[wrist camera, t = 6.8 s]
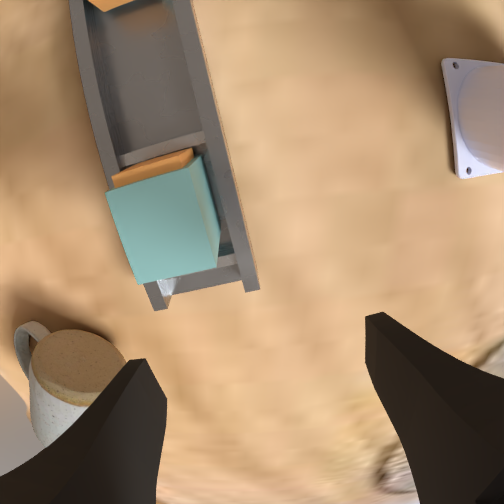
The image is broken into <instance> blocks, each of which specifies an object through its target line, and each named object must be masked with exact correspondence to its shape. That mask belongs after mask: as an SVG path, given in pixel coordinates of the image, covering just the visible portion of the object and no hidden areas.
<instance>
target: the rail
mask: <svg viewBox="0 0 504 504" xmlns="http://www.w3.org/2000/svg"><path fill="white" fill-rule="evenodd" d="M69 7H70V15H71V22H72V29H73V36H74V42H75V48H76V54H77V60H78V65H79V71H80V76H81V81H82V86H83V90H84V95H85V99H86V104H87V108H88V112H89V117H90V121H91V125H92V129H93V133H94V137H95V140H96V144H97V148H98V152H99V155H100V159H101V162H102V166H103V169H104V173H105V176H106V179H107V183H108V186H109V189H112V188H113V187H114V183H113V180H112V177H111V176H113V175H115V174H117V173H119V172H121V171H123V170H125V169H127V168H129V167H131V166H133V165H135V164H138V163H140V162H144V161H147V160H150V159H153V158H157V157H160V156H163V155H167V154H170V153H174V152H177V151H181V150H184V149H188V148H192V150H193V154H194V156H197V155H200V154H202V156H203V160H204V164H205V168H206V172H207V176H208V179H209V183H210V187H211V191H212V195H213V198H214V202H215V206H216V210H217V214H218V217H219V221H220V225H221V232H220V241H219V250H218V259H217V267H216V268H212V269H207V270H203V271H198V272H194V273H189V274H185V275H180V276H176V277H171V278H167V279H162V280H158V281H153V282H149V283H144V284H143V285H144V287H145V290H146V292H147V294H148V297H149V299H150V302H151V304H152V306H153V309H154V311H158V310H163V309H168V306H169V302H170V299H171V296H172V295H174V294H179V293H184V292H189V291H193V290H198V289H203V288H207V287H212V286H217V285H221V284H226V283H231V282H235V281H240V280H242V282H243V285H244V289H245V292H250V291H255V290H259V289H260V285H259V278H258V272H257V266H256V262H255V258H254V254H253V249H252V245H251V241H250V237H249V233H248V229H247V225H246V220H245V216H244V212H243V208H242V204H241V200H240V196H239V192H238V187H237V183H236V179H235V175H234V171H233V167H232V163H231V159H230V154H229V150H228V146H227V142H226V138H225V134H224V130H223V126H222V121H221V117H220V113H219V109H218V105H217V101H216V97H215V93H214V88H213V84H212V80H211V76H210V72H209V68H208V64H207V60H206V56H205V51H204V47H203V43H202V39H201V35H200V31H199V27H198V23H197V19H196V14H195V10H194V6H193V2H192V0H134V1H131V2H128V3H125V4H123V5H120V6H118V7H115V8H113V9H110V10H108V11H106V12H103V11H102V10H100V9H99V8H98V7H96V6H95V5H94V4H92V3H91V2H89V1H88V0H69Z"/></svg>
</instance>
